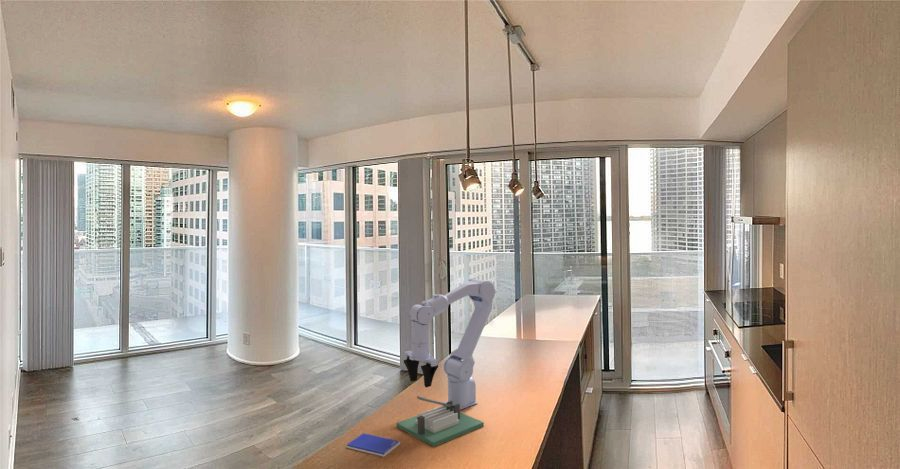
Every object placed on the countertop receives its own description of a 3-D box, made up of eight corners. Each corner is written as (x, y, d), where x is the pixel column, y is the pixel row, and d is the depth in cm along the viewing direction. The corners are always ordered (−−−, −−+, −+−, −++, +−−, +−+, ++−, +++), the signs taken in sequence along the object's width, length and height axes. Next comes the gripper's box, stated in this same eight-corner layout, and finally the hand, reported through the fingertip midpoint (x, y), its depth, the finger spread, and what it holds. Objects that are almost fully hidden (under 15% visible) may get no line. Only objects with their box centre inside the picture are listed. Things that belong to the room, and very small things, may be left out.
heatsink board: (445, 409, 160) (445, 391, 160) (483, 426, 147) (483, 406, 147) (396, 426, 147) (396, 407, 147) (433, 446, 133) (433, 425, 133)
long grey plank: (451, 407, 151) (452, 404, 151) (455, 408, 150) (456, 405, 150) (416, 398, 142) (417, 395, 142) (420, 400, 140) (421, 397, 141)
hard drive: (400, 440, 135) (364, 432, 141) (384, 452, 128) (346, 444, 133) (400, 445, 135) (364, 437, 141) (384, 458, 128) (346, 449, 133)
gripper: (397, 340, 158) (397, 380, 158) (424, 348, 147) (425, 392, 147) (414, 336, 163) (414, 376, 163) (442, 344, 152) (442, 386, 152)
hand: (420, 383), depth 155 cm, fingers open, 7 cm apart
